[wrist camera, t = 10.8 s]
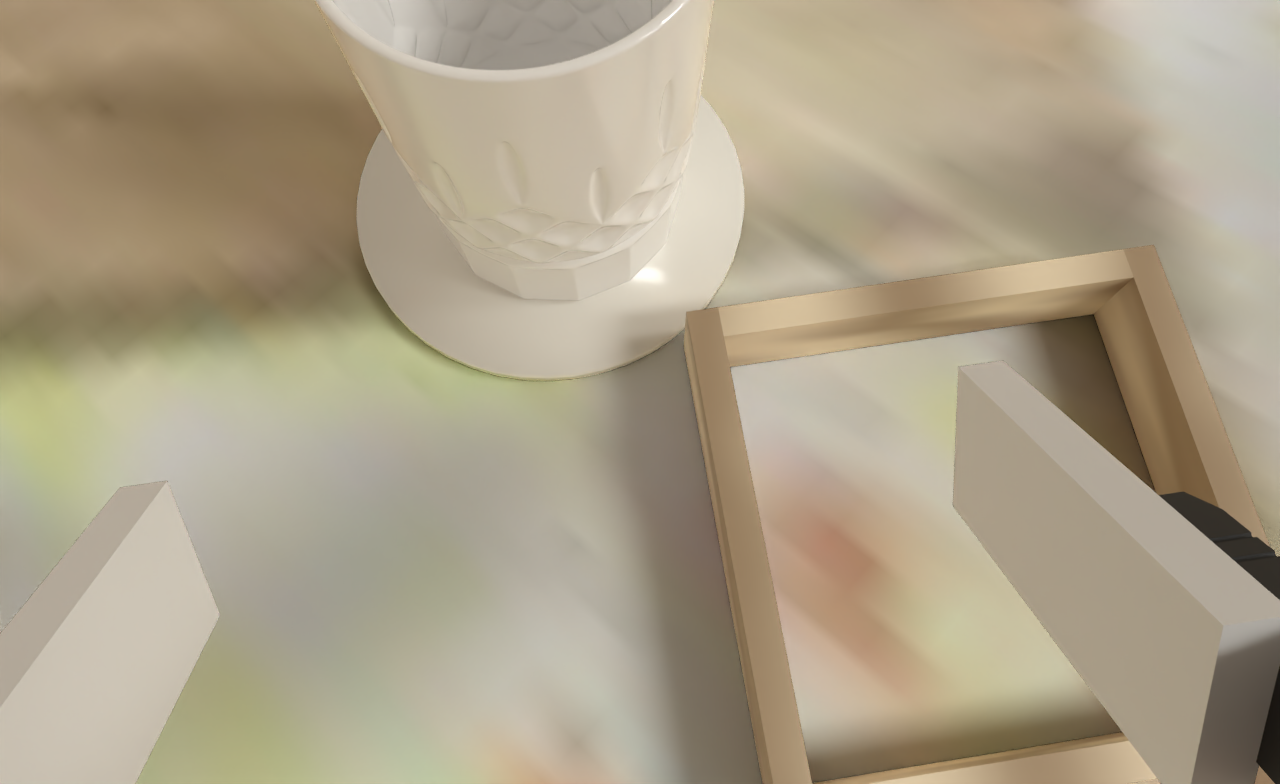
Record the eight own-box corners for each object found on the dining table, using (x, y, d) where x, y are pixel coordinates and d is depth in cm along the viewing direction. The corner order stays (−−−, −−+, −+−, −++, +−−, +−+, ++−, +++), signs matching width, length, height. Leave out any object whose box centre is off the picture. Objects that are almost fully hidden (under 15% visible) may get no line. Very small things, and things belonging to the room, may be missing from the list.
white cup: (369, 171, 26) (213, -134, 17) (594, 38, 28) (565, -311, 18) (521, 379, 24) (438, 160, 15) (756, 222, 26) (817, -67, 16)
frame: (1112, 283, 25) (1154, 244, 23) (1279, 744, 21) (1347, 747, 19) (683, 345, 25) (686, 311, 23) (770, 828, 21) (783, 841, 19)
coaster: (707, 25, 28) (707, 15, 28) (777, 349, 25) (779, 343, 24) (352, 71, 28) (348, 63, 28) (370, 408, 24) (366, 403, 24)
